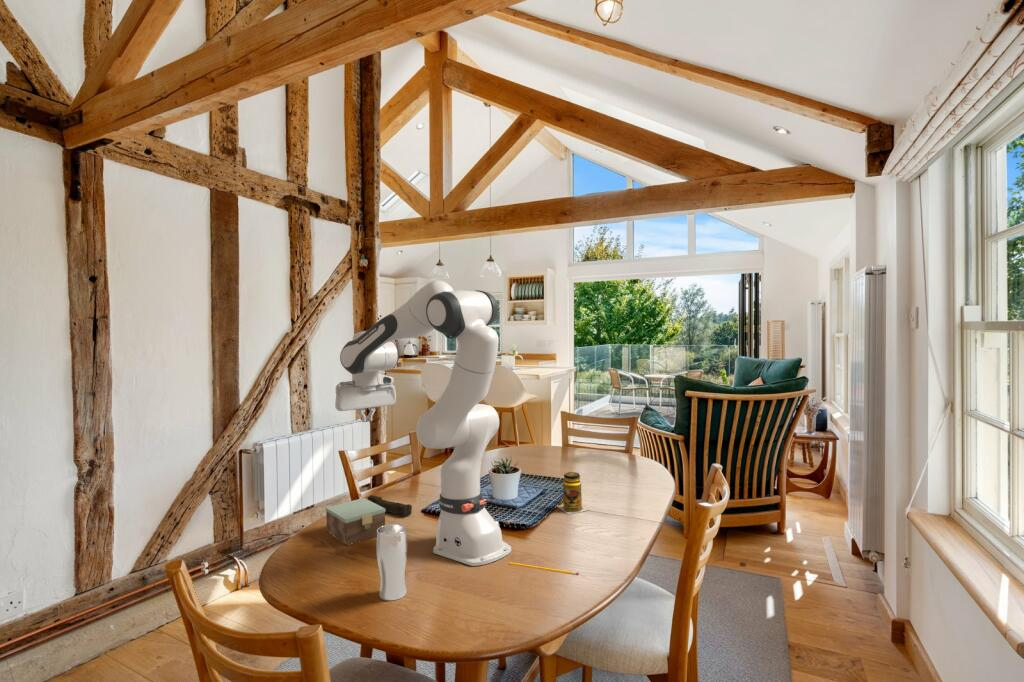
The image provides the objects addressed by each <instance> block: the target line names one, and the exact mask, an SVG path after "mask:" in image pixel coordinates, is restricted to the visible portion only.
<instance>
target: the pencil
mask: <svg viewBox="0 0 1024 682" xmlns="http://www.w3.org/2000/svg"><path fill="white" fill-rule="evenodd" d="M508 566H515V567H523V568H527V569H528V568H529V569H535V570H541V571H548V572H554V573H558V574H559V573H560V574H567V575H572V576H579V575H580V573H579V572H576V571H575V572H574V571H569V570H562V569H555V568H549V567H542V566H538V565H537V566H536V565H530V564H524V563H523V564H522V563H519V562H517V563H516V562H510V561H508Z"/></svg>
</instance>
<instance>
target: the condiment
mask: <svg viewBox="0 0 1024 682" xmlns="http://www.w3.org/2000/svg"><path fill="white" fill-rule="evenodd" d="M582 498H583V497H582V482H581V475H580V473H579V472H575V471H574V472H573V471H570V472H565V473H564V474H563V482H562V499H563V504H560V505H556V507H558V508H559V509H560V510H562V511H563V512H564V513H566V514H569V515H571V514H576V513H577V514H578V513H582V512H585V511H587V508H584V507H583V504H582Z"/></svg>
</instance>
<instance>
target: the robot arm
mask: <svg viewBox="0 0 1024 682" xmlns="http://www.w3.org/2000/svg"><path fill="white" fill-rule="evenodd" d="M498 314H499V306H498V302H497V299H496V298H495V297H494V295H492V293H489V292H488V291H487V292H486V291H483V290H477V289H476V290H465V289H457V290H454V289H453V287H452V286H451V285H450V284H449V283H447V282H446V281H443V280H440V279H439V280H438V279H435V280H431V281H430V282H428V283H427V284H425V285H424V286H422V287H421V288H420V289H418V290H417V291H416V292H415V293H414V294H413V295H412V296H411V297H410V298H409V299H408V300H407V301H406V302H405V303H404V304H402V305H401V306H400V307H398V308H397V309H395V310H394V311H393V312H391V313H389V314H387V315H386V316H384V317H382V318H380V319H379V320H378V321H377V322H376V323H374V324H373V325H372V326H371V327H369V328H368V329H367V330H361V331H357V332H356V333H354V334H353V336H352V340H349V341H347V343H346V344H344V346H343V347H342V349H341V352H340V354H339V361H340V364H341V365H342V367H343V369H345V370H346V371H347V372H348V373H350V374H351V380H350V381H340V382H339V383H337V385H336V386H335V394H336V395H335V403H334V404H335V409H336V410H337V411H339V412H346V411H355V410H358V413H359V415H360V417H361V421H362V423H369V422H370V423H371V422H372V421H373V416H374V414H375V412H376V408H379V407H387V406H388V407H389V406H394V405H395V404H396V402H397V391H396V386H395V385H394V381H395V379H394V377H392V376H388V375H385V374H381V373H380V372H383V371H389V370H390V371H391V370H393V369H395V367H397V365H398V363H399V361H400V351H399V347H398V346H397V345H396V343H395V342H394V341H398V340H402V339H411V338H421V337H423V336H425V335H427V334H429V333H431V332H433V330H436V331H437V332H439V333H440V334H443V335H444V336H445V338H447V339H449V340H452V339H456V340H457V349H456V354H455V357H454V362H453V365H452V370H451V374H450V377H449V380H448V383H447V385H446V387H445V390H444V391H443V392H442V393H441V396H440V397H439V398H438V400H436V402H435V403H434V404H433V405H432V406H431V407H430V408H429V409H428V410H426V411H425V412H424V413H422V414H421V415H420V416H419V418H418V419H417V422H416V424H415V425H416V426H415V433H416V437H417V439H418V441H419V442H420V444H421V445H422V447H424V448H426V449H439V450H441V449H442V450H444V449H447V448H452V447H454V448H453V451H452V453H451V455H450V456H449V457H448V458H447V459H446V460H445V461H444V462H443V463H442V465H441V468H440V494H439V500H438V501H439V502H438V503H439V508H440V513H439V517H438V519H437V524H436V525H437V526H436V538H435V539H436V541H435V544H434V545H435V546H433V548H432V549H433V550H432V553H433V554H436V555H439V556H441V557H444V558H447V559H450V560H453V561H455V562H460V563H462V564H465V565H468V566H472V567H477V566H483V565H486V564H490V563H493V562H495V561H499V560H500V559H503V558H504V557H506V556H508V555H509V554H510V553H511V552H512V546H511V545H509V544H508V543H507V542H505V541H504V540H503V535H502V534H503V533H502V529H501V527H500V524H499V521H498V520H495V519H494V518H493V517H492V515H491V514H490V512H489V511H488V510H487V509H486V504H487V503H488V502H487V499H486V498H484V496H483V493H482V492H481V469H482V468H481V467H482V460H483V458H484V454H485V451H486V449H487V446H488V445H489V443H490V441H491V440H492V439H493V437H494V436H496V434H497V433H498V430H499V428H500V418H499V414H498V412H497V410H496V409H495V408H494V407H493V406H492V405H489V404H485V403H484V404H483V403H480V402H481V401H483V400H484V399H485V398H487V395H488V393H489V391H490V387H491V383H492V380H493V377H494V373H495V369H496V364H497V360H498V354H499V353H498V352H499V341H500V338H499V335H498V333H497V331H496V330H495V329H493V328H492V327H491V326H490V325H492V324H493V323H495V321H496V319H497V318H498ZM366 409H368V411H369V413H368V414H367V415H366V414H365V412H366Z"/></svg>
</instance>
